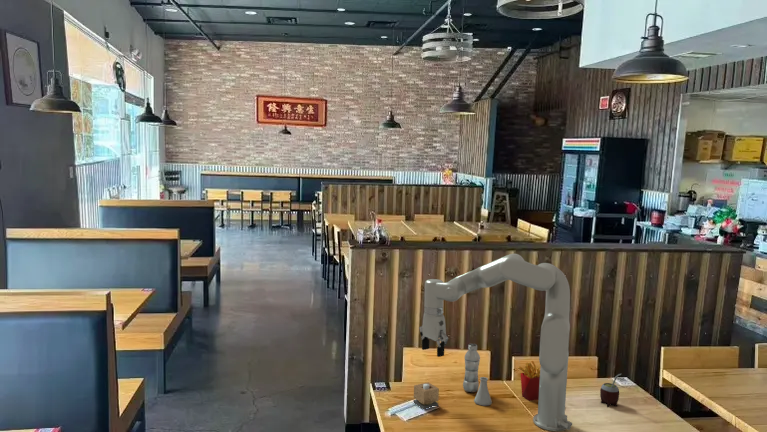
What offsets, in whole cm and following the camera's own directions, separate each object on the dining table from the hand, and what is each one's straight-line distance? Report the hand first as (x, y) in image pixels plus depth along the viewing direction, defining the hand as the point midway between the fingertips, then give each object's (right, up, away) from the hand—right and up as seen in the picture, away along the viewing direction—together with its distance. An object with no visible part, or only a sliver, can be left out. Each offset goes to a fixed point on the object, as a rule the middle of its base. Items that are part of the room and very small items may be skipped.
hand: (432, 352), depth 210 cm
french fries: (+40, -21, +8) cm, 46 cm away
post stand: (-3, -20, -2) cm, 20 cm away
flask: (+20, -21, +2) cm, 29 cm away
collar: (-3, -18, -2) cm, 18 cm away
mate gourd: (+72, -22, +3) cm, 76 cm away
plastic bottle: (+17, -20, +13) cm, 29 cm away
